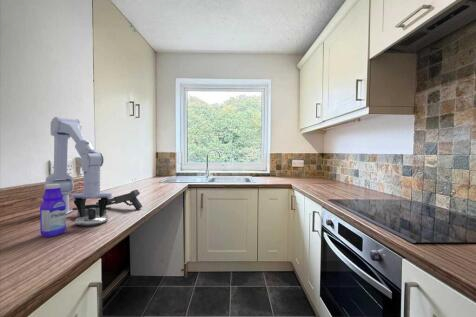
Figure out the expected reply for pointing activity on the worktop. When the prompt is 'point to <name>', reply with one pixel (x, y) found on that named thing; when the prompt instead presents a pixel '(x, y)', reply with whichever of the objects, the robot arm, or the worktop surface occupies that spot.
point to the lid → (91, 218)
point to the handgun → (126, 199)
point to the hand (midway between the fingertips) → (92, 216)
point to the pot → (91, 207)
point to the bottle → (52, 211)
